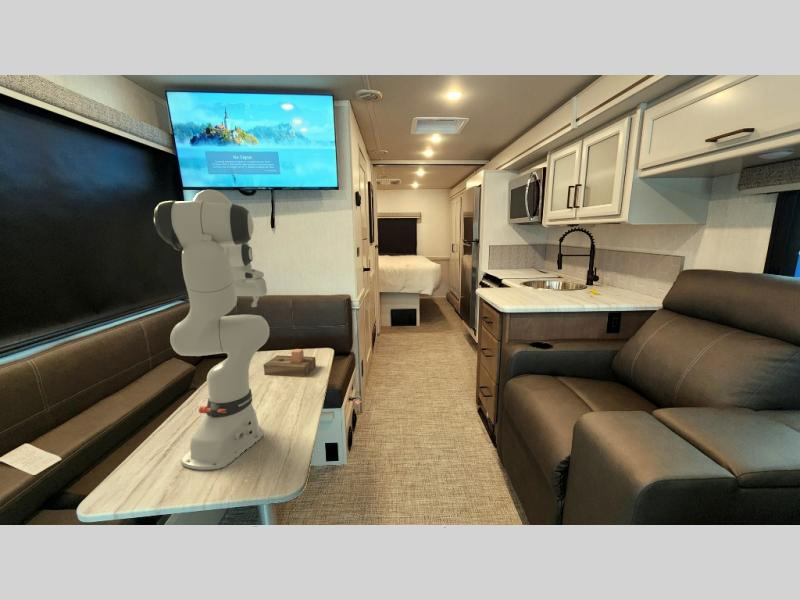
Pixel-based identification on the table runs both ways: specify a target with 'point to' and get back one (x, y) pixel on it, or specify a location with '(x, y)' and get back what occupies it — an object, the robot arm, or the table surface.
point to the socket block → (289, 366)
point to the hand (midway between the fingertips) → (244, 306)
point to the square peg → (297, 356)
